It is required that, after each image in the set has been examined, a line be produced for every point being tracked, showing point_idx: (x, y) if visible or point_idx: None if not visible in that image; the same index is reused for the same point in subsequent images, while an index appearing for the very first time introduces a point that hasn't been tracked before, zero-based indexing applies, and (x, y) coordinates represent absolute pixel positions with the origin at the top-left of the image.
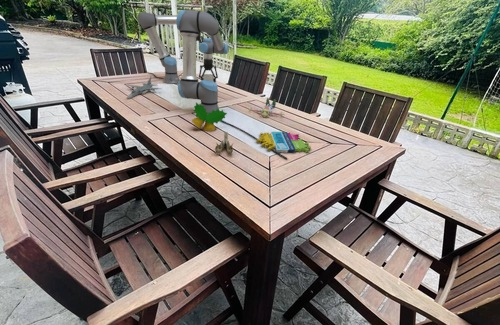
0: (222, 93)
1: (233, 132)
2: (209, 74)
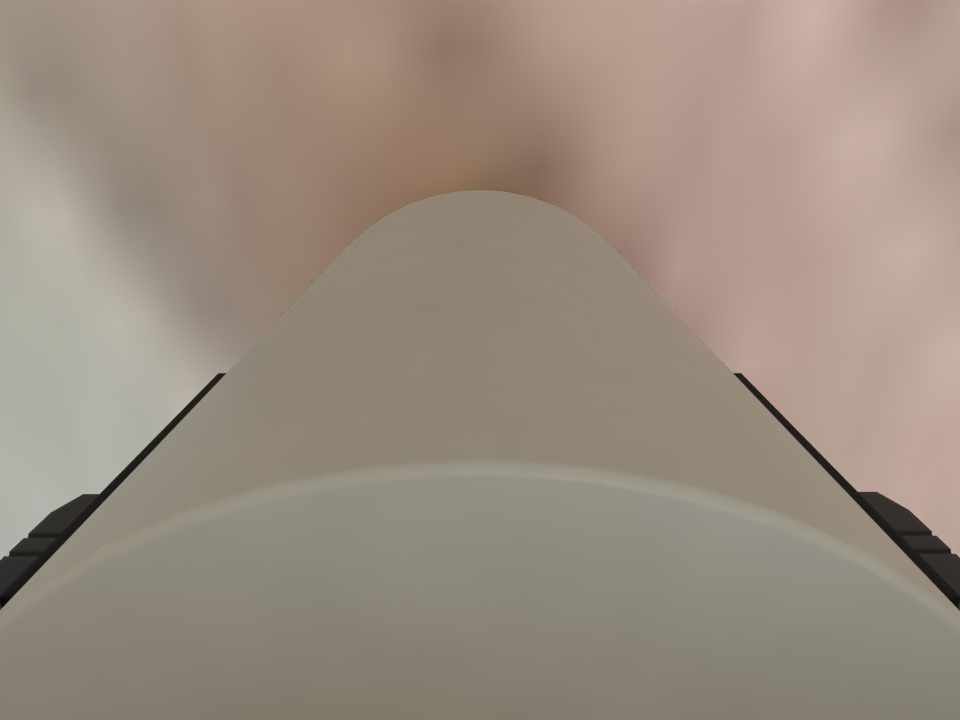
0: (922, 106)
1: None
2: (639, 667)
